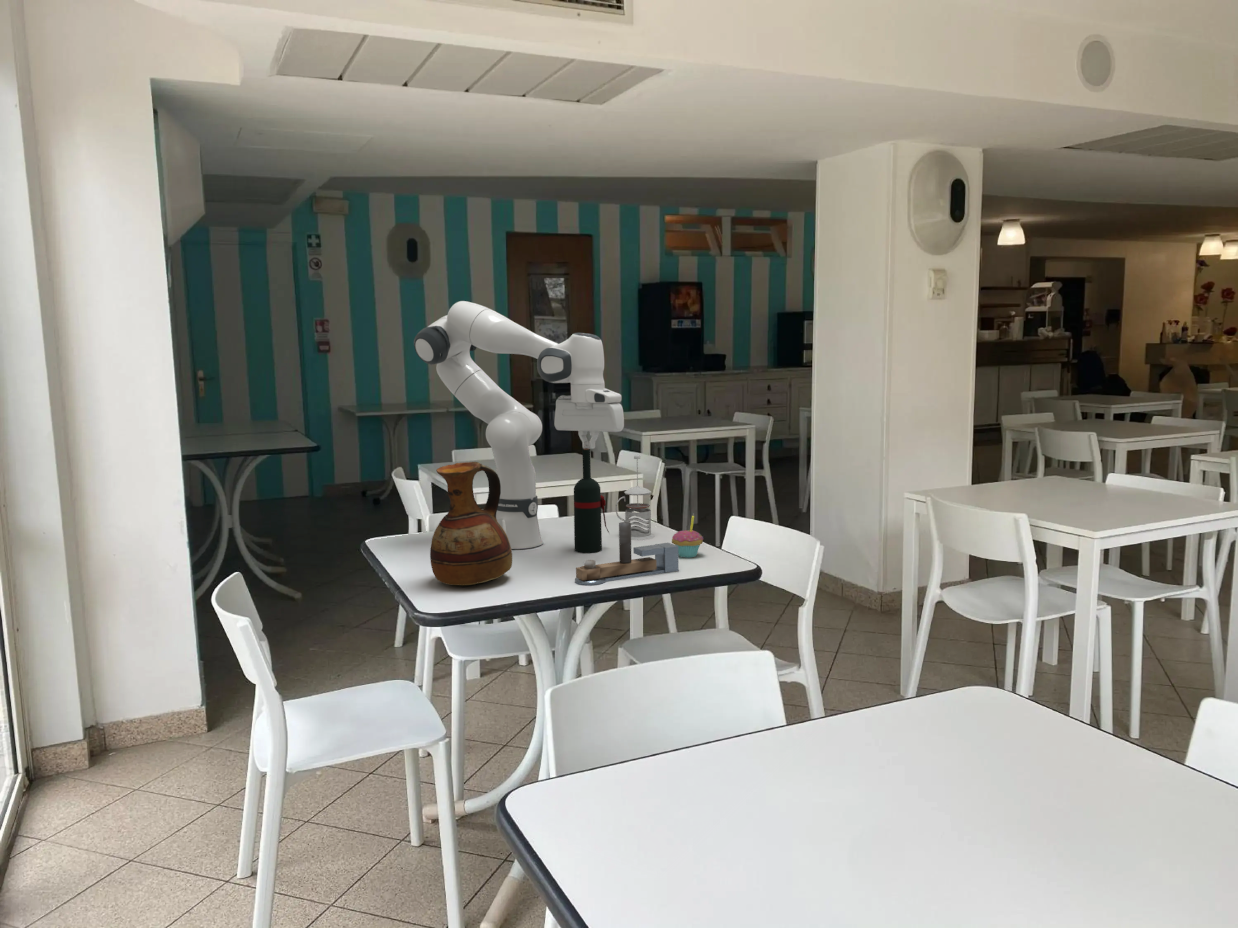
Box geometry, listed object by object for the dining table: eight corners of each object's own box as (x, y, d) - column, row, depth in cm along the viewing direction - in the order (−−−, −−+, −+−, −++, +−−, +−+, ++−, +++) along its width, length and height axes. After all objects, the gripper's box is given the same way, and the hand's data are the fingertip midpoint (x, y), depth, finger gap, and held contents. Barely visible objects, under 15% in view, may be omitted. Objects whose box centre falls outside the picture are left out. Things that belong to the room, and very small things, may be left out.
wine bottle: (612, 551, 261) (610, 445, 258) (576, 553, 259) (574, 447, 256) (607, 545, 269) (605, 442, 265) (572, 547, 267) (570, 444, 263)
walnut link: (583, 581, 226) (582, 530, 224) (574, 576, 230) (573, 527, 228) (658, 569, 236) (657, 521, 234) (648, 565, 240) (647, 518, 238)
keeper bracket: (583, 586, 224) (582, 560, 223) (569, 580, 231) (569, 554, 230) (681, 571, 237) (681, 546, 236) (665, 565, 244) (665, 541, 243)
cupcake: (708, 554, 257) (708, 511, 255) (694, 560, 249) (694, 516, 248) (680, 551, 261) (680, 509, 259) (666, 557, 254) (665, 514, 252)
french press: (654, 540, 276) (653, 456, 273) (615, 540, 276) (614, 457, 273) (654, 533, 286) (653, 452, 282) (616, 533, 286) (615, 453, 283)
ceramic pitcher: (416, 581, 232) (410, 462, 228) (482, 567, 246) (478, 454, 242) (461, 596, 218) (456, 469, 214) (528, 579, 232) (525, 460, 228)
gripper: (548, 395, 245) (550, 447, 247) (613, 396, 234) (614, 451, 236) (563, 394, 251) (564, 445, 252) (626, 395, 239) (627, 448, 241)
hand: (588, 448), depth 244 cm, fingers closed
